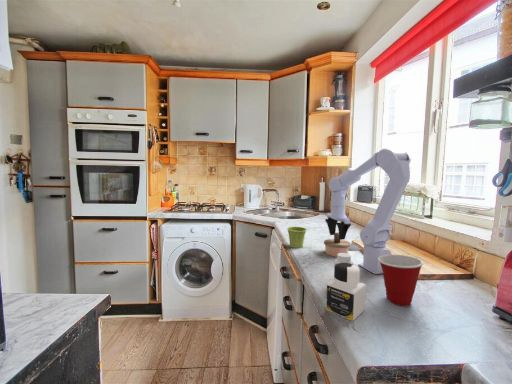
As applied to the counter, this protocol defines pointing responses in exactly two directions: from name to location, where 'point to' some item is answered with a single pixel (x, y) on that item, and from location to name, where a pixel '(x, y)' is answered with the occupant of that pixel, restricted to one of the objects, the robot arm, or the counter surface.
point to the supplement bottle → (343, 258)
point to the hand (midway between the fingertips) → (337, 237)
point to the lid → (337, 242)
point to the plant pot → (296, 236)
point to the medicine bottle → (346, 292)
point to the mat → (353, 248)
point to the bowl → (335, 250)
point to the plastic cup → (400, 277)
